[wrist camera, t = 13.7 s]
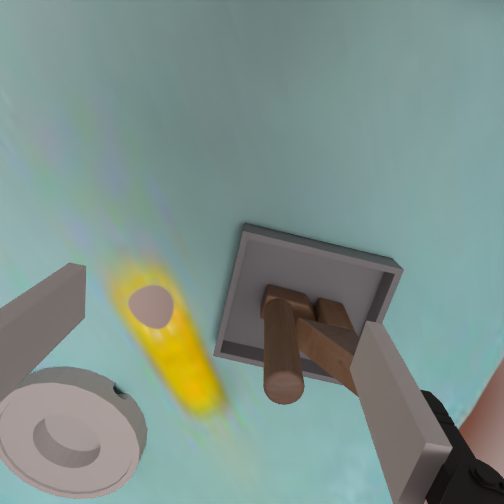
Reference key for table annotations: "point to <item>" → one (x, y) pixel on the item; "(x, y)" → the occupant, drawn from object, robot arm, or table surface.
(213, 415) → the table surface
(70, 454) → the ashtray
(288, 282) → the tray
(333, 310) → the brown round-handled part
